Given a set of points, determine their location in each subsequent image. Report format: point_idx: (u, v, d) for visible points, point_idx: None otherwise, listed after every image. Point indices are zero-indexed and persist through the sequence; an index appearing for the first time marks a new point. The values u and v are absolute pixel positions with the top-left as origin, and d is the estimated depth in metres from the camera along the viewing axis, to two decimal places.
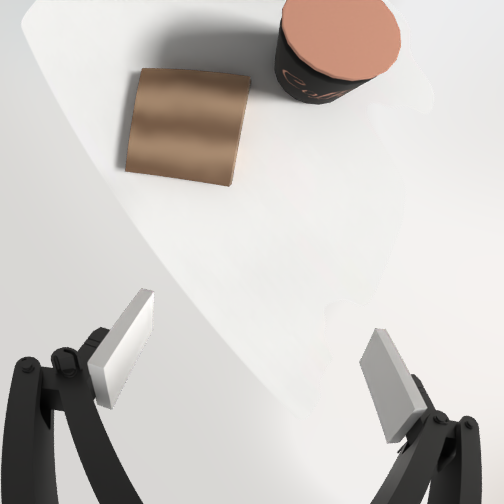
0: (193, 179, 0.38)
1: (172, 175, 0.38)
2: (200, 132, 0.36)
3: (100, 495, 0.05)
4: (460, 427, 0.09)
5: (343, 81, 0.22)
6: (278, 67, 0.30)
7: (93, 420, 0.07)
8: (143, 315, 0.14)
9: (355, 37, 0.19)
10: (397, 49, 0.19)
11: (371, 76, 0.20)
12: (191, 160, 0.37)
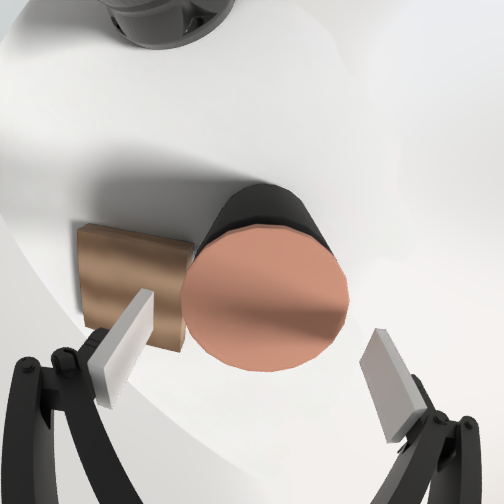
0: (146, 343, 0.38)
1: None
2: None
3: (100, 495, 0.05)
4: (460, 427, 0.09)
5: None
6: None
7: (93, 420, 0.07)
8: (143, 315, 0.14)
9: (277, 326, 0.18)
10: (337, 330, 0.18)
11: (293, 367, 0.20)
12: None
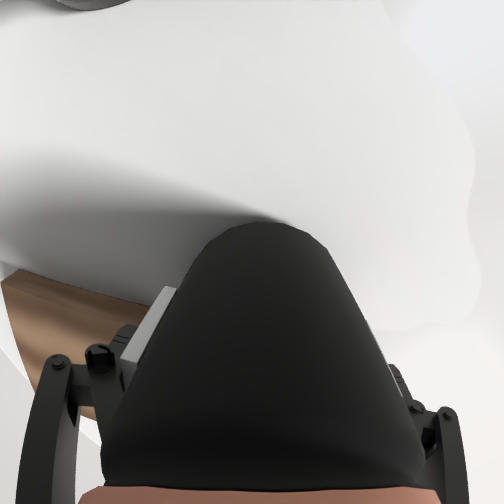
0: None
1: (83, 415, 0.24)
2: None
3: None
4: (438, 419, 0.10)
5: None
6: None
7: None
8: None
9: None
10: None
11: None
12: None
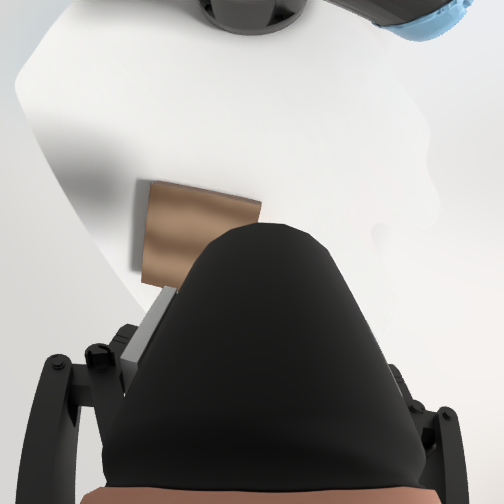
0: None
1: None
2: None
3: None
4: (438, 419, 0.10)
5: None
6: None
7: None
8: None
9: None
10: None
11: None
12: None
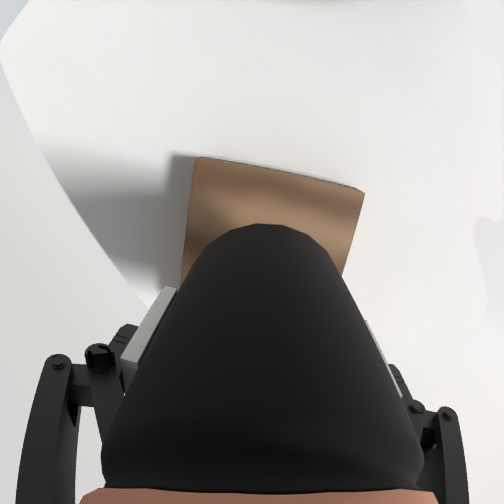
0: None
1: None
2: None
3: None
4: (438, 419, 0.10)
5: None
6: None
7: None
8: None
9: None
10: None
11: None
12: None
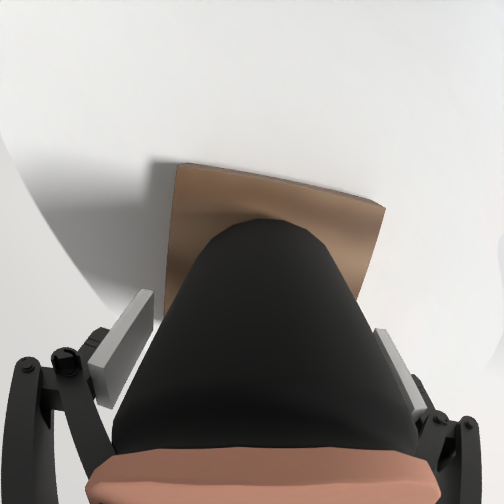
0: None
1: None
2: None
3: None
4: (460, 427, 0.09)
5: None
6: None
7: (93, 420, 0.07)
8: (143, 315, 0.14)
9: None
10: None
11: None
12: None
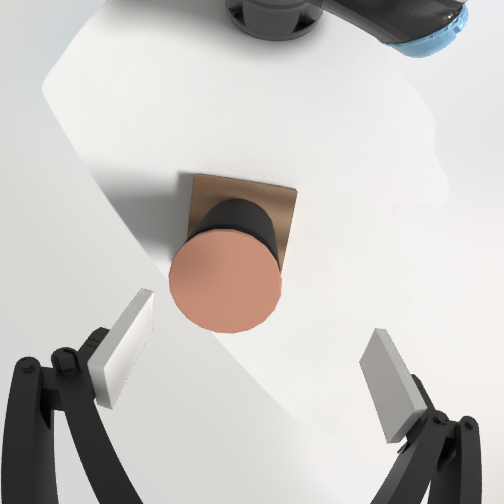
0: None
1: None
2: None
3: (100, 495, 0.05)
4: (460, 427, 0.09)
5: None
6: None
7: (93, 420, 0.07)
8: (143, 315, 0.14)
9: (233, 298, 0.28)
10: (275, 301, 0.28)
11: (248, 329, 0.29)
12: None
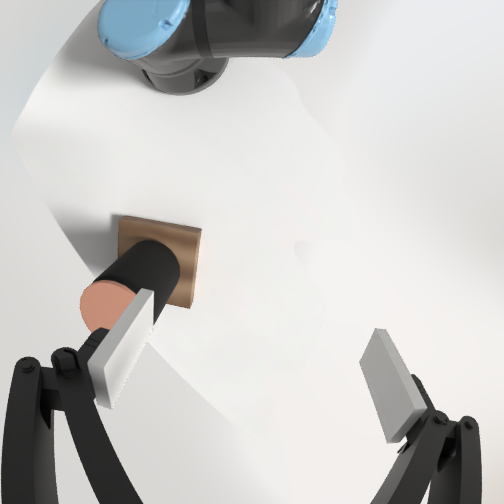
0: None
1: None
2: None
3: (100, 495, 0.05)
4: (460, 427, 0.09)
5: None
6: None
7: (93, 420, 0.07)
8: (143, 315, 0.14)
9: None
10: None
11: None
12: None
